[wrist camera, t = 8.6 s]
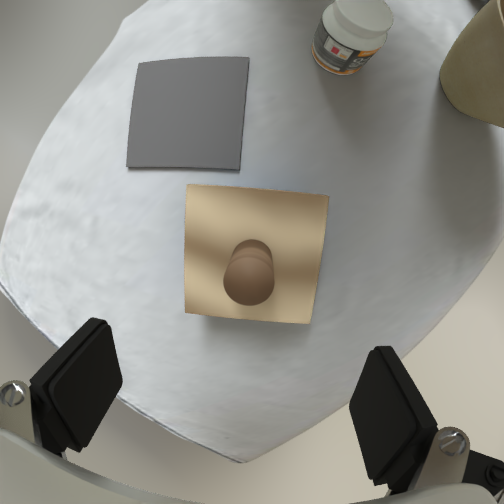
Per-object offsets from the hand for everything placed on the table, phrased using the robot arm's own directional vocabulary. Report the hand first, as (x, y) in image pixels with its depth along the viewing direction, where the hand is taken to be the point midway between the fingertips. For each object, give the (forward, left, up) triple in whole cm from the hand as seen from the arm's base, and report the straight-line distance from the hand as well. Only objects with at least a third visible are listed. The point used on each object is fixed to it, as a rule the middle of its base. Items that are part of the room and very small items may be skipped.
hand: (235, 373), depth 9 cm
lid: (0, 0, -15) cm, 15 cm away
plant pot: (-22, +24, -20) cm, 38 cm away
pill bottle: (-21, +7, -20) cm, 30 cm away
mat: (-13, -8, -20) cm, 25 cm away
